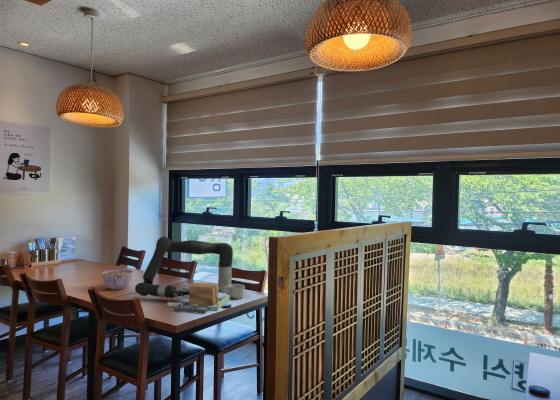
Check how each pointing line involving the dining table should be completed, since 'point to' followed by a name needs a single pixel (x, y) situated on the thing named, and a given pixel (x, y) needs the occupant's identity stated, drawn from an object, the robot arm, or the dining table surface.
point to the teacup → (235, 290)
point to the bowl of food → (117, 278)
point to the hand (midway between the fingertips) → (192, 293)
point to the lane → (195, 307)
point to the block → (203, 294)
